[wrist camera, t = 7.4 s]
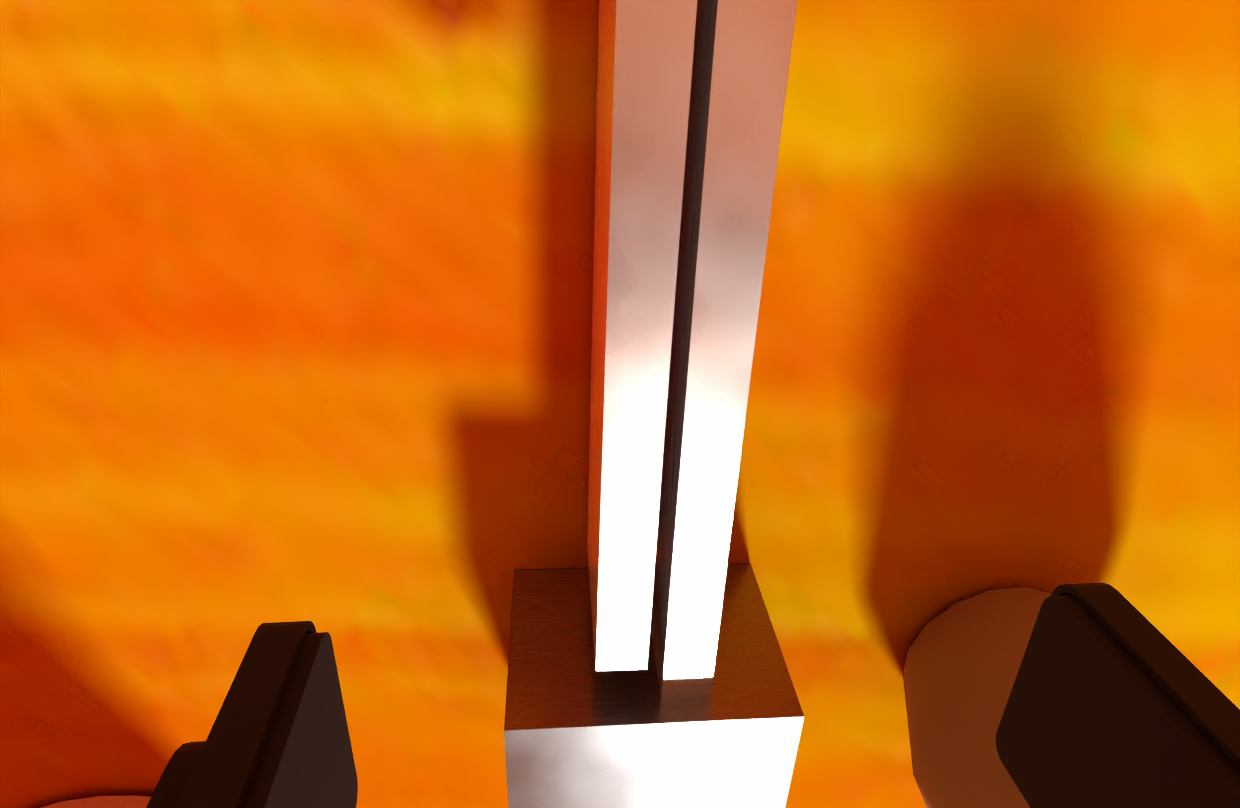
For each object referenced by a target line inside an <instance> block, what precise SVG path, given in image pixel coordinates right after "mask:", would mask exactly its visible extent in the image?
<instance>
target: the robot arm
mask: <svg viewBox="0 0 1240 808" xmlns="http://www.w3.org/2000/svg"><path fill="white" fill-rule="evenodd" d="M996 748H997V752H998V755H999V758H1000V760H1001V762H1002V764H1003V765H1004V767H1005V768H1006V770H1007V772H1008V773H1009V775H1010V776H1011V778H1012V780H1013V781H1014V783H1015V784H1016V786H1017V787H1018V789H1019V791H1020V792H1021V794H1022V795H1023V797H1024V799H1025V800H1026V802H1027V803H1028V805H1029V806H1030V808H1240V710H1239V709H1238V708H1237V707H1236V706H1235V705H1234V704H1233V703H1232V702H1231V701H1230V700H1229V699H1228V698H1227V697H1226V696H1225V695H1224V694H1223V693H1222V692H1221V691H1220V690H1219V689H1218V688H1217V687H1216V686H1215V685H1214V684H1213V683H1212V682H1211V681H1210V680H1209V679H1208V678H1207V677H1205V676H1204V675H1203V674H1202V673H1201V672H1200V671H1199V670H1198V669H1197V668H1196V667H1195V666H1194V665H1193V664H1192V663H1191V662H1190V661H1189V660H1188V659H1187V658H1186V657H1185V656H1184V655H1183V654H1182V653H1181V652H1180V651H1179V650H1178V649H1177V648H1176V647H1175V646H1174V645H1173V644H1172V643H1171V642H1170V641H1169V640H1168V639H1167V638H1165V637H1164V636H1163V635H1162V634H1161V633H1160V632H1159V631H1158V630H1157V629H1156V628H1155V627H1154V626H1153V625H1152V624H1151V623H1150V622H1149V621H1148V620H1147V619H1146V618H1145V617H1144V616H1143V615H1142V614H1141V613H1140V612H1139V611H1138V610H1137V609H1136V608H1135V607H1134V606H1133V605H1132V604H1131V603H1130V602H1129V601H1128V600H1126V599H1125V598H1124V597H1123V596H1122V595H1121V594H1120V593H1119V592H1118V591H1117V590H1116V589H1115V588H1113V587H1112V586H1111V585H1109V584H1105V583H1085V584H1065V585H1059V586H1058V587H1057V588H1056V589H1054V591H1053V593H1052V595H1051V596H1050V597H1047V598H1046V599H1045V600H1044V601H1043V603H1042V605H1041V608H1040V611H1039V614H1038V617H1037V619H1036V622H1035V625H1034V628H1033V631H1032V634H1031V636H1030V639H1029V642H1028V645H1027V648H1026V651H1025V653H1024V656H1023V659H1022V662H1021V665H1020V667H1019V670H1018V673H1017V676H1016V679H1015V682H1014V684H1013V687H1012V690H1011V693H1010V696H1009V698H1008V701H1007V704H1006V707H1005V710H1004V713H1003V715H1002V718H1001V721H1000V724H999V727H998V730H997V733H996ZM357 791H358V785H357V775H356V769H355V764H354V759H353V753H352V748H351V742H350V737H349V732H348V726H347V721H346V715H345V710H344V705H343V699H342V694H341V688H340V683H339V678H338V672H337V667H336V662H335V656H334V651H333V645H332V640H331V637H330V634H329V633H327V632H324V633H316V630H315V626H314V624H313V623H312V622H311V621H299V622H279V623H263V624H261V625H260V626H259V627H258V629H257V630H256V632H255V634H254V636H253V638H252V641H251V643H250V645H249V647H248V650H247V652H246V654H245V656H244V658H243V661H242V663H241V665H240V667H239V669H238V672H237V674H236V676H235V678H234V680H233V683H232V685H231V687H230V689H229V692H228V694H227V696H226V698H225V700H224V703H223V705H222V707H221V709H220V711H219V714H218V716H217V718H216V720H215V723H214V725H213V727H212V729H211V731H210V734H209V736H208V738H207V740H206V741H201V742H190V743H185V744H183V745H182V746H181V747H180V748H178V749H177V750H176V751H175V753H174V754H173V756H172V758H171V759H170V761H169V762H168V764H167V766H166V768H165V770H164V772H163V774H162V776H161V778H160V780H159V782H158V784H157V786H156V788H155V790H154V792H153V794H152V796H140V795H122V796H95V797H88V798H82V799H75V800H68V801H62V802H58V803H55V804H51V805H48V806H44V807H41V808H356V803H357Z"/></svg>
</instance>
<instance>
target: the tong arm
mask: <svg viewBox="0 0 1240 808" xmlns="http://www.w3.org/2000/svg"><path fill="white" fill-rule="evenodd" d="M696 12H697V0H599V30H598V76H597V122H596V168H595V215H594V261H593V307H592V353H591V399H590V445H589V491H588V537H587V551H588V566H589V581H590V596H591V610H592V625H593V640H594V655H595V670H596V671H616V670H644V669H647V662H648V649H649V636H650V623H651V609H652V596H653V583H654V569H655V556H656V543H657V530H658V516H659V503H660V490H661V476H662V463H663V450H664V437H665V423H666V410H667V397H668V383H669V370H670V357H671V344H672V330H673V317H674V304H675V291H676V277H677V264H678V251H679V237H680V224H681V211H682V198H683V184H684V171H685V158H686V144H687V131H688V118H689V105H690V91H691V78H692V65H693V51H694V38H695V25H696Z"/></svg>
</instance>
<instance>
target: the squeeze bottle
mask: <svg viewBox="0 0 1240 808" xmlns="http://www.w3.org/2000/svg"><path fill="white" fill-rule="evenodd" d="M1051 595H1052V593H1048V592H1044V591H1041V590H1037V589H1033V588H1030V587H1018V588H1006V589H994V590H989V591H986V592H984V593H981V594H978V595H976V596H973V597H971V598H968V599H965V600H963V601H960V602H957V603H955V604H954V605H952V606H951V607H950V608H948V609H947V610H946V611H944V612H943V613H941V614H940V615H939V616H937V617H936V618H935V619H933V620H932V621H930V622H929V623H928V624H926V626H925V627H924V628H923V630H922V631H921V633H920V634H919V635H918V637H917V638H916V639H915V641H914V642H913V644H912V645H911V646H910V648H909V649H908V652H907V657H906V662H905V667H904V672H903V680H904V689H905V699H906V708H907V718H908V728H909V737H910V747H911V756H912V766H913V775H914V777H915V780H916V782H917V784H918V787H919V789H920V792H921V794H922V796H923V799H924V801H925V804H926V805H927V807H928V808H1030V806H1029V805H1028V803H1027V802H1026V800H1025V799H1024V797H1023V795H1022V794H1021V792H1020V791H1019V789H1018V787H1017V786H1016V784H1015V783H1014V781H1013V780H1012V778H1011V776H1010V775H1009V773H1008V772H1007V770H1006V768H1005V767H1004V765H1003V764H1002V762H1001V760H1000V758H999V755H998V752H997V748H996V733H997V730H998V727H999V724H1000V721H1001V718H1002V715H1003V713H1004V710H1005V707H1006V704H1007V701H1008V698H1009V696H1010V693H1011V690H1012V687H1013V684H1014V682H1015V679H1016V676H1017V673H1018V670H1019V667H1020V665H1021V662H1022V659H1023V656H1024V653H1025V651H1026V648H1027V645H1028V642H1029V639H1030V636H1031V634H1032V631H1033V628H1034V625H1035V622H1036V619H1037V617H1038V614H1039V611H1040V608H1041V605H1042V603H1043V601H1044V600H1045V599H1046V598H1047V597H1050V596H1051Z"/></svg>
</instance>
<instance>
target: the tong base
mask: <svg viewBox="0 0 1240 808" xmlns="http://www.w3.org/2000/svg"><path fill="white" fill-rule="evenodd" d="M796 7H797V0H697V12H696V25H695V38H694V51H693V65H692V78H691V91H690V105H689V118H688V131H687V144H686V158H685V171H684V184H683V198H682V211H681V224H680V237H679V251H678V264H677V277H676V291H675V304H674V317H673V330H672V344H671V357H670V370H669V383H668V397H667V410H666V423H665V437H664V450H663V463H662V476H661V490H660V503H659V516H658V530H657V543H656V556H655V569H654V583H653V596H652V609H651V623H650V636H649V649H648V662H647V669H644V670H616V671H596V670H595V655H594V640H593V625H592V610H591V596H590V581H589V568H577V569H542V570H514V581H513V597H512V613H511V629H510V645H509V661H508V677H507V693H506V710H505V726H504V736H505V753H506V769H507V786H508V803H509V808H785V805H786V801H787V796H788V791H789V786H790V782H791V777H792V772H793V767H794V763H795V758H796V753H797V748H798V744H799V739H800V734H801V729H802V725H803V720H804V715H803V712H802V709H801V706H800V703H799V700H798V698H797V695H796V692H795V689H794V686H793V683H792V681H791V678H790V675H789V672H788V669H787V666H786V663H785V661H784V658H783V655H782V652H781V649H780V646H779V644H778V641H777V638H776V635H775V632H774V629H773V626H772V624H771V621H770V618H769V615H768V612H767V609H766V606H765V604H764V601H763V598H762V595H761V592H760V589H759V587H758V584H757V581H756V578H755V575H754V572H753V569H752V567H751V564H750V563H749V564H727V562H728V554H729V546H730V538H731V529H732V521H733V513H734V505H735V497H736V489H737V481H738V473H739V465H740V457H741V449H742V441H743V433H744V425H745V417H746V409H747V401H748V393H749V385H750V377H751V369H752V361H753V352H754V344H755V336H756V328H757V320H758V312H759V304H760V296H761V288H762V280H763V272H764V264H765V256H766V248H767V240H768V232H769V224H770V216H771V208H772V200H773V192H774V184H775V175H776V167H777V159H778V151H779V143H780V135H781V127H782V119H783V111H784V103H785V95H786V87H787V79H788V71H789V63H790V55H791V47H792V39H793V31H794V23H795V15H796Z"/></svg>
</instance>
